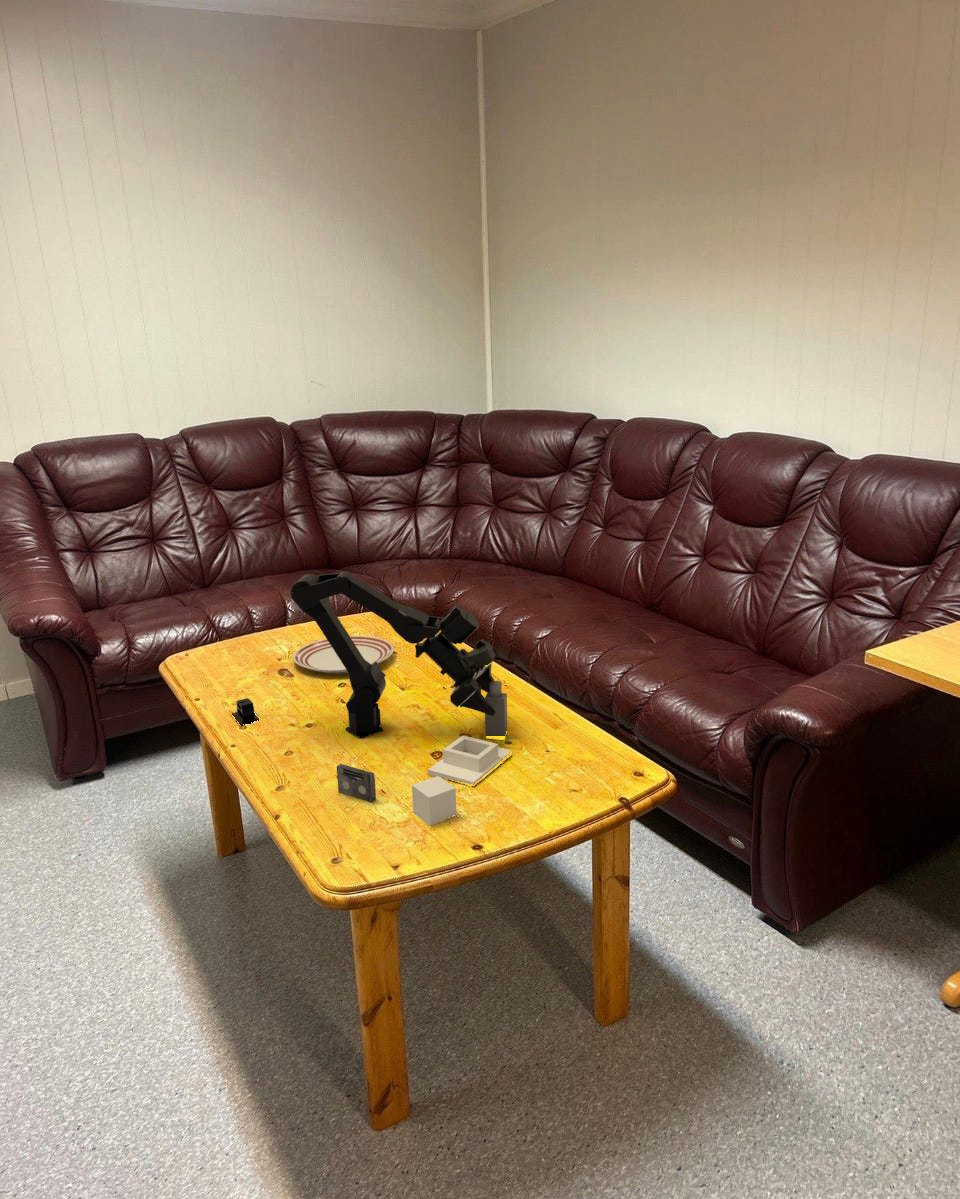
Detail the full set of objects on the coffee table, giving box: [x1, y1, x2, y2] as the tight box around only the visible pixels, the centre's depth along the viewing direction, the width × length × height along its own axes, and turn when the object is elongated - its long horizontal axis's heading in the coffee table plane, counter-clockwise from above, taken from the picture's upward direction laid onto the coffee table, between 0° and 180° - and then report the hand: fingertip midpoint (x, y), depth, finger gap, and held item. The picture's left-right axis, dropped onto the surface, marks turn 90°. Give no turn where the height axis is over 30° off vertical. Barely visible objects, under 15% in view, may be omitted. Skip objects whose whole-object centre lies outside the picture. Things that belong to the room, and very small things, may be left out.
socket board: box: [427, 735, 512, 785], centre depth 195 cm, size 11×16×4 cm
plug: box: [484, 680, 508, 737], centre depth 207 cm, size 4×3×13 cm
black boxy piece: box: [231, 697, 259, 726], centre depth 221 cm, size 12×7×5 cm, turn 32°
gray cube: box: [411, 776, 457, 827], centre depth 176 cm, size 6×6×6 cm
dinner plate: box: [292, 635, 395, 674], centre depth 255 cm, size 27×27×3 cm
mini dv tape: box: [336, 763, 377, 803], centre depth 183 cm, size 8×2×6 cm, turn 59°
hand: (498, 705), depth 206 cm, fingers open, 9 cm apart
